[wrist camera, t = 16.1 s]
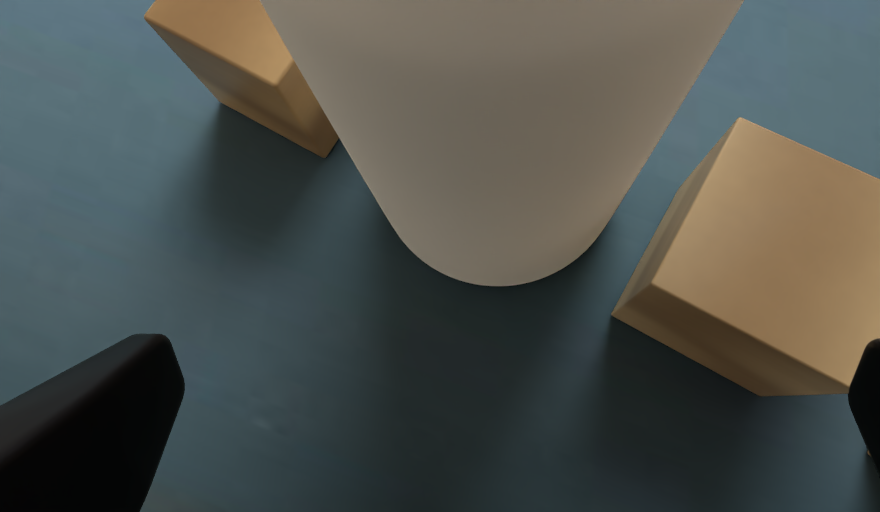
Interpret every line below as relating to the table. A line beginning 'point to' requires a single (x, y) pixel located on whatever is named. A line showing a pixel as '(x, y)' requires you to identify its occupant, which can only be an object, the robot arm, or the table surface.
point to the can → (500, 114)
